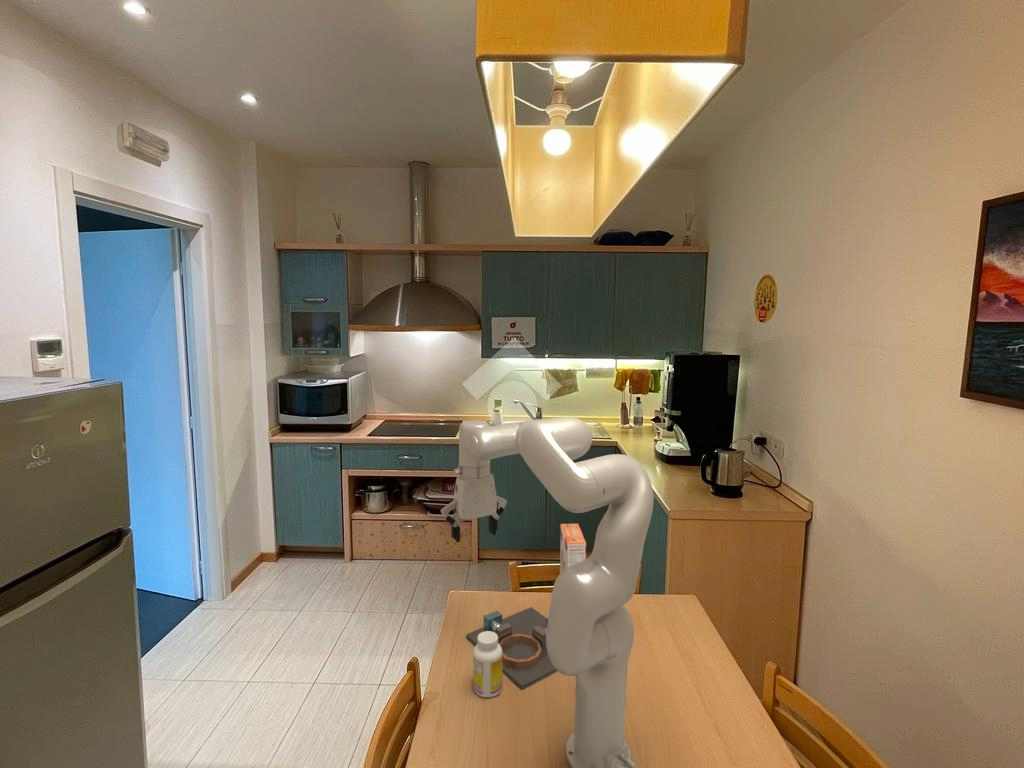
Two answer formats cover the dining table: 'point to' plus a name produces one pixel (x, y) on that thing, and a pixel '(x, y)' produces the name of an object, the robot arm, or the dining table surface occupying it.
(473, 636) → the base
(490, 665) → the supplement bottle
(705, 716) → the dining table surface
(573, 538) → the cracker box
